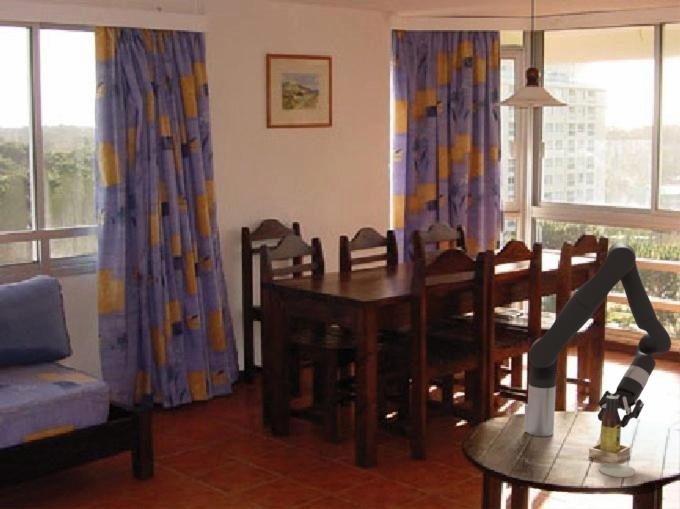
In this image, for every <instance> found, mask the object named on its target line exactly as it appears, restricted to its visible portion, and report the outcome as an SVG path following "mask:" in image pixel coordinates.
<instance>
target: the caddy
mask: <svg viewBox="0 0 680 509" xmlns="http://www.w3.org/2000/svg"><path fill="white" fill-rule="evenodd" d="M588 449H589V450H588V457H589V458H591V457H592V458H591V459H595V458H596V460H599V461H604V462H607V463H620V462H621V461H624V460H625V459H627V458H628V457H630V456H631V446H628V445H625V444H621V443H620V451H619V452H617V453H616V454H614V453H610V452H606V451H602V450H600V442H598V443H597V444H594V445H592V446H590V447H589V448H588ZM619 461H620V462H619Z"/></svg>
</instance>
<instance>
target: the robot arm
mask: <svg viewBox="0 0 680 509" xmlns="http://www.w3.org/2000/svg"><path fill="white" fill-rule="evenodd" d="M636 258H637V257H636V252H635V250H634V248H633V247H632V246H631V245H630V244H628V243H626V242H622V241H621V242H619V241H618V242H615V243H613V244H612V245H611V246H610V247H609V248H608V250H607V252H606V258H605V259H604V261H603V263H602V265H600V267H599V268H598V270H597V271H596V273H595V274H593V276H592V277H590V279H589V280H587V281H586V282H585V283H583V284H582V285H581V286H580V287H579V288H578V289H577V290H576V291H575V292H574V293H573V294H572V296H571V297H570V298H569V299H568V300H567V301H566V303H565V304H564V306H563V307H562V309H561V311H559V313H558V315H557V317H556V318H555V320H554V322H553V323H552V325H551V326H550V328H549V329H547V331H546V332H545V333H544V334H543V335H542V337H540V338H537V339H536V340H534V341H533V343H532V345H531V347H530V348H529V352H528V358H529V362H530V366H529V368H530V369H529V375H528V392H527V393H528V394H527V395H528V396H527V404H525V406H524V428H523V429H524V430H523V432H525V433H527V434H528V435H530V436H535V437H550V436H553V435H554V431H555V415H556V414H555V412H556V387H557V376H558V362H559V354H560V353H561V351H562V350H563V349H564V347H565V346H566V344H567V343H568V342H569V341H570V340H571V338H572V337H573V336H575V335H576V333H578V332H579V331H580V329H582V327H584V326H585V324H586V323H587V322H588V321H589V320H590V319H591V318H592V316H594V314H595V313H596V312H597V311H598V309H599V308H600V306H601V305H602V304H603V302H604V301H605V299H606V298H607V296H608V295H609V294H610V292H611V291H612V290H613V288H614V287H615V286H616V285H617V284H618V283H619V282H621V284H622V285H621V286H622V287H623V289H624V292H625V296H626V300H627V303H628V306H629V309H630V312H631V314H632V317H633V320H634V321H635V324H636V326H637V328H638V329H639V330H642V331H645V332H646V333H645V334H644V335H643V336H641V338H640V339H639V341H638V344H637V349H636V352H635V357H634V359H633V360H632V362H631V364H630V366H629V367H628V368H627V370H626V371H625V372H624V375H623V376H622V378H621V379H620V382H619V383H618V385H617V386H616V390H615V392H614V393H611V392H610V391H609V390H605V392H604V394H603V395H602V397H601V398H600V400H599V401H598V403H597V404H598V406H599V408H600V411H599V412H598V414H597V419H598V420H599V421H600V422H602V416H603V414H604V413H605V411H606V396H616V397H618V398H619V402H618V410H622V411H625V414H624V415H623V417H622V418H621V422H620V426H621V428H625V427H627V426H628V424H629V422H630V421H631V419H636V420H637V419H639V416H640V414H641V412H642V410H643V407H644V406H645V404H644V402H643V400H642V399H640V395H641V394H642V393H643V391H644V389H645V387H646V385H647V383H648V381H649V379H650V376H651V375H652V374H653V371H654V369H655V367H656V363H657V362H656V360H655V358H653V355H658V354H659V355H662V354H663V355H664V354H666V353H668V352H669V351H670V350H671V348H672V340H671V339H672V338H671V336H670V334H669V332H668V331H667V330H666V328H665V326H664V325H663V324H662V323H661V321H660V320H659V319H658V316H657V315H656V312H655V309H654V307H653V304H652V302H651V300H650V298H649V295H648V294H647V291H646V289H645V286H644V285H643V282H642V279H641V276H640V274H639V270H638V266H637V262H636V261H637V259H636ZM633 406H634V407H633ZM632 407H633V409H632Z"/></svg>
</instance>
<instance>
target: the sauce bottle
mask: <svg viewBox="0 0 680 509" xmlns="http://www.w3.org/2000/svg"><path fill="white" fill-rule="evenodd" d="M618 402H619V398H618V397H616V396H606V411H605V413H604V414H603V416H602V421H601V424H600V440H599V441H600V442H599V443H600V450H602V451H606V452H610V453H614V454H616V453H617V452H619V451H620V444H621V432H622V427H621V426H620V422H621V420H622V418H621V416H620V414H619V409H618Z"/></svg>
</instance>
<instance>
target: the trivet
mask: <svg viewBox="0 0 680 509" xmlns="http://www.w3.org/2000/svg"><path fill="white" fill-rule="evenodd" d="M598 469H599V470H600V471H599V472H600V473H601V474H603V475H606V476H609V477H613V476H615V477H614V478H630V477H633V476H635V475H636V469H635V468H634V467H633V466H630V465H627V464H624V463H620V462H618V463H611V462H607V463H602V464H600V465H599V466H598Z"/></svg>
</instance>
